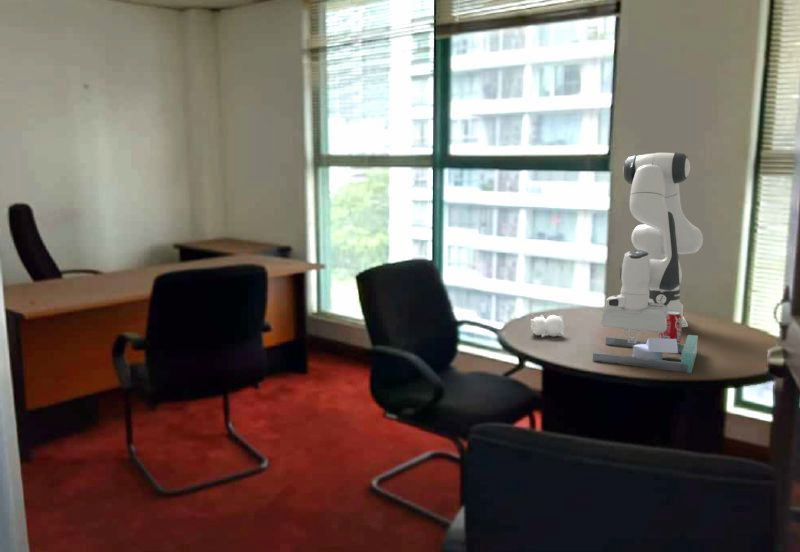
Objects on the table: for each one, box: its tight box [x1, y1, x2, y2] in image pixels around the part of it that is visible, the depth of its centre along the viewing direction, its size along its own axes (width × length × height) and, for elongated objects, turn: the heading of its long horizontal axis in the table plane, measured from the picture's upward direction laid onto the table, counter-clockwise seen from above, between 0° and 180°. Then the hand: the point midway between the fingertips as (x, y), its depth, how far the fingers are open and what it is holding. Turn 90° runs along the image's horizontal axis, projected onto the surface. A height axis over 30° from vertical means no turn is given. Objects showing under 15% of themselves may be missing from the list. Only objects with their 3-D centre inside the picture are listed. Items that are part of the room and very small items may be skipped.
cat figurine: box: [530, 314, 565, 338], centre depth 246 cm, size 9×11×12 cm
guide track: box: [592, 334, 699, 374], centre depth 217 cm, size 23×29×6 cm
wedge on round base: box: [632, 337, 679, 360], centre depth 216 cm, size 9×7×13 cm
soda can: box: [658, 310, 683, 344], centre depth 229 cm, size 7×7×12 cm
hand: (632, 342), depth 219 cm, fingers closed
